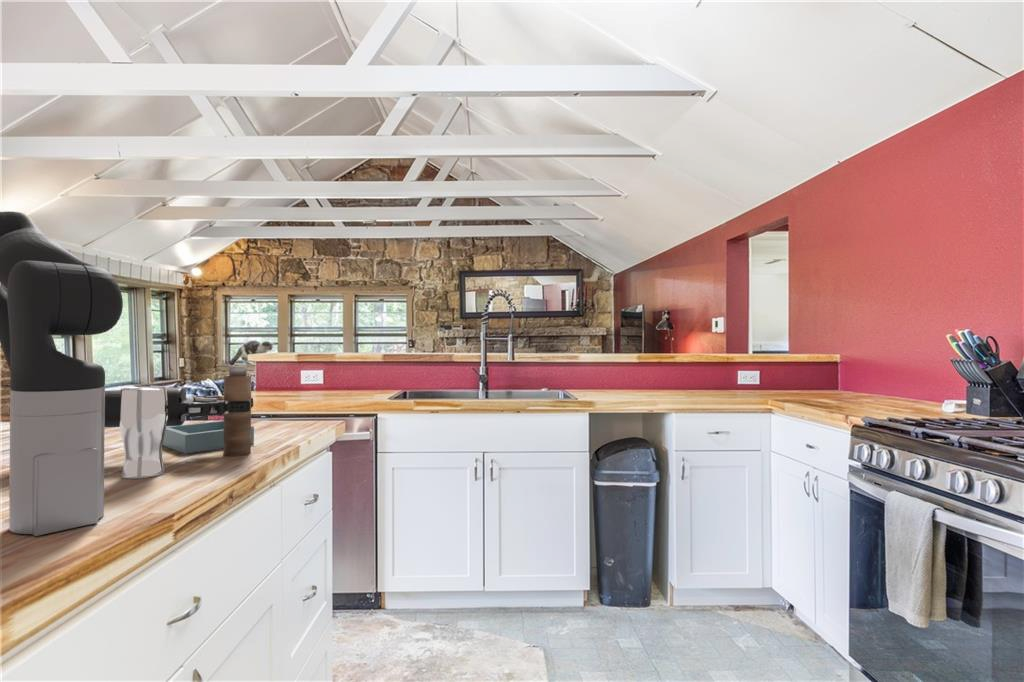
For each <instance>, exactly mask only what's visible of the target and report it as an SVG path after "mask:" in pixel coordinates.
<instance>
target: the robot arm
mask: <svg viewBox="0 0 1024 682" xmlns="http://www.w3.org/2000/svg"><path fill="white" fill-rule="evenodd" d="M0 283H1V285H2V286H3V287H5V288H6V291H5V289H4V288H2V286H1V285H0V347H1V349H2V353H3V356H4V358H5V361H6V363H7V367H8V370H9V372H10V385H9V386H10V387H9V389H10V392H9V393H10V394H9V398H10V400H9V402H10V403H9V475H8V476H9V479H8V480H9V483H8V484H9V493H8V495H9V497H8V498H9V503H8V504H9V507H8V508H9V509H8V510H9V511H8V512H9V513H8V514H9V517H8V519H9V521H8V522H9V523H8V524H9V525H8V526H9V527H8V530H9V531H10V532H11V533H13V534H19V535H20V534H23V535H33V536H34V537H36V536H37V537H38V536H43V535H45V534H52V533H57V532H60V531H65V530H71V529H75V528H79V527H84V526H88V525H89V526H90V525H94V524H97V523H99V519H101V518H103V516H104V515H105V510H104V509H105V429H106V428H120V424H119V404H120V395H121V389H118V390H117V389H116V390H106V372H105V368H104V367H103V366H102V365H100V364H98V363H94V362H92V361H87V360H83V359H78V358H76V357H73V356H70V355H67V354H64V353H63V352H61V351H59V350H58V349H57V346H56V343H55V340H54V337H53V336H95V335H99V334H100V335H101V334H103V333H106V332H108V331H110V330H112V329H113V328H114V327H115V326H116V325H117V324H118V322H119V320H120V318H121V315H122V313H123V309H124V307H123V306H124V304H123V303H124V301H123V300H124V299H123V294H122V291H121V288H120V286H119V283H118V282H117V280H116V279H115V277H114V276H113V275H112V274H111V273H110V272H109V271H108V270H107V269H105V268H102V267H100V266H98V265H94V264H91V263H88V262H86V261H84V260H82V259H80V258H79V257H77V256H76V255H74V254H72V253H71V252H70V251H68V250H67V249H65V248H64V247H63V246H62V245H61V244H59V243H58V242H56V241H55V240H53V239H52V238H50V237H48V236H47V235H46V234H45V233H43V231H42V230H41V229H40V228H39V226H38V225H37V223H36V222H35V221H34V220H33V219H32V218H31V217H30V216H28V215H27V214H25V213H22V212H18V211H8V210H7V211H0ZM167 400H168V419H167V426H180V425H184V423H185V421H186V417H187V416H188V417H189V418H201V417H214V416H219V417H221V416H224V414H227V413H229V411H230V413H231V412H249V411H250V409H251V410H252V408H253V407H254V398H253V397H251V403H250V401H230V403H229V401H227V400H224V395H222V396H221V395H204V394H201V395H195V396H193V398H190V399H189V398H187V393H186V390H185V388H183V387H167ZM167 426H166V427H167Z"/></svg>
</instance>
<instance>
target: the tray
mask: <svg viewBox="0 0 1024 682" xmlns="http://www.w3.org/2000/svg"><path fill="white" fill-rule="evenodd" d="M223 437H224V419H223V420H215V421H205V422H196V423H186V424H182V425H180V426H166V431H165V436H164V440H163V446H164V447H166V448H168V449H172V450H174V451H177V452H179V453H181V454H191V453H197V452H206V451H211V450H218V449H219V450H220V449H223ZM254 443H255V426H252V425H251V445H253V444H254ZM163 446H162V447H163Z"/></svg>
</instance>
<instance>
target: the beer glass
mask: <svg viewBox="0 0 1024 682" xmlns="http://www.w3.org/2000/svg"><path fill="white" fill-rule="evenodd" d="M167 388H168V387H167V386H157V385H155V386H154V385H153V386H152V385H151V386H134V387H133V386H132V387H124V388H123V387H122V388H120V390H121V395H120V404H119V424H120V427H119V429H120V434H121V439H122V444H123V449H124V461H123V462H124V463H123V467H122V472H121V477H122V478H123V479H126V480H140V479H147V478H149V479H150V478H153V477H158V476H160V475H162V474H163V475H164V473H165V466H164V462H163V461H164V460H163V440H164V436H165V431H166V427H167V419H168V400H167Z"/></svg>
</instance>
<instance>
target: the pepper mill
mask: <svg viewBox="0 0 1024 682" xmlns="http://www.w3.org/2000/svg"><path fill="white" fill-rule="evenodd" d="M247 367H248V366H247V365H229V366H228V374H226V375H224V376H223V396H224V400H227V401H229V403H230V401H250V403H251V398H252V374H248V372H247V371H248V370H247ZM224 400H223V401H224ZM223 420H224V437H223V448H222V450H223V456H225V457H239V456H246V455H249V454H251V453H252V449H251V446H252V444H251V426H252V408H251V409H250V411H249V412H231V413H230V411H229V413H227V414H224V415H223Z"/></svg>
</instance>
